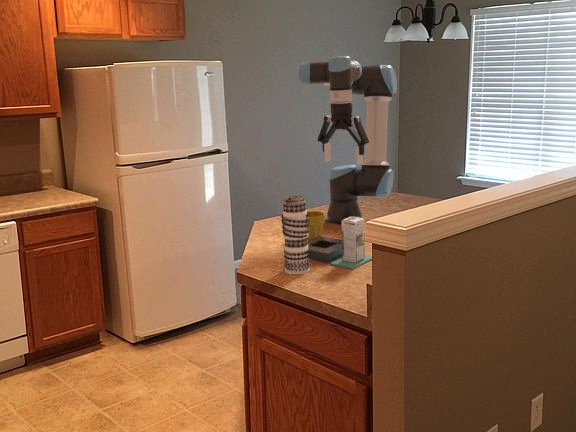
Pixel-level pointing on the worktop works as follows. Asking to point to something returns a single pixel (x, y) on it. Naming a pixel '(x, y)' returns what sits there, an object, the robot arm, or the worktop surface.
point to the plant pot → (315, 223)
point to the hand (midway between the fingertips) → (343, 162)
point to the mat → (351, 263)
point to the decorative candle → (295, 235)
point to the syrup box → (353, 239)
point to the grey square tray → (324, 249)
